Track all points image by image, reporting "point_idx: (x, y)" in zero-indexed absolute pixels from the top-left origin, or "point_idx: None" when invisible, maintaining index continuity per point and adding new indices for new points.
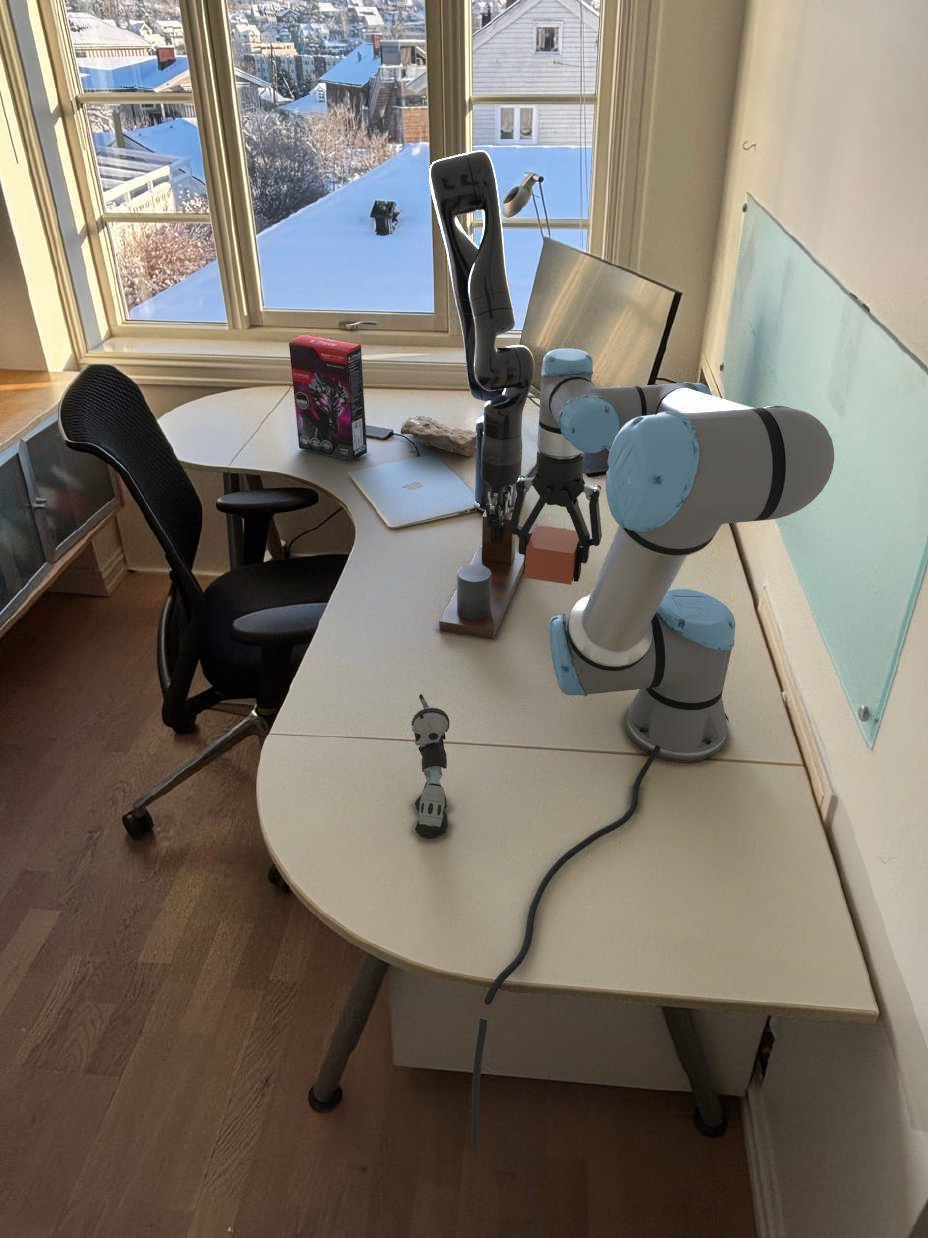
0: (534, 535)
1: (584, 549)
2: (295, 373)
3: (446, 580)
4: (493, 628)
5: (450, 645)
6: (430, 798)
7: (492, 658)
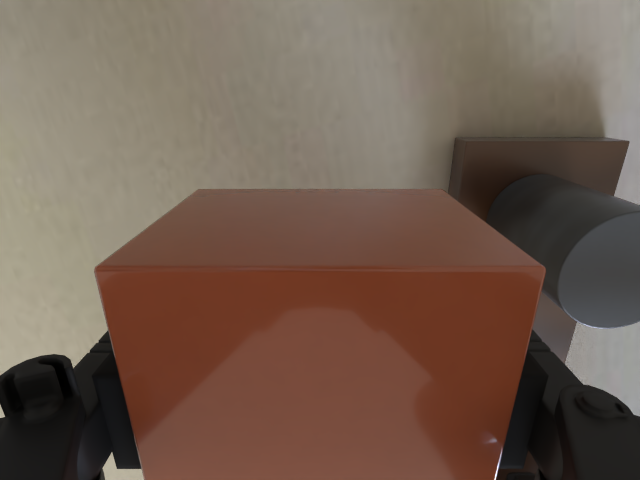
0: (481, 444)
1: (48, 360)
2: None
3: (592, 348)
4: (468, 148)
5: (572, 73)
6: None
7: (447, 42)
